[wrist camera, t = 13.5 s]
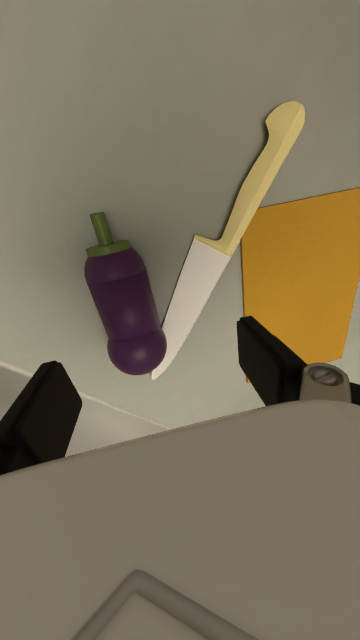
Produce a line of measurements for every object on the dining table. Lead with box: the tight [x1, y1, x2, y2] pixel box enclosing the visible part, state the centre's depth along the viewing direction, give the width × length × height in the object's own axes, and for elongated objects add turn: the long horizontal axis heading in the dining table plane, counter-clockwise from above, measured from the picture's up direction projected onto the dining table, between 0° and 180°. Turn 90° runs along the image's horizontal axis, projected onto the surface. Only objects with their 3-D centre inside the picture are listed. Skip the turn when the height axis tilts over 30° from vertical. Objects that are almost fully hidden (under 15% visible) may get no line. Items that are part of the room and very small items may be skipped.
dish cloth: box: [241, 188, 360, 383], centre depth 28 cm, size 24×16×1 cm, turn 10°
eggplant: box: [85, 212, 167, 375], centre depth 21 cm, size 16×6×6 cm, turn 10°
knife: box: [152, 101, 305, 381], centre depth 23 cm, size 1×32×5 cm
